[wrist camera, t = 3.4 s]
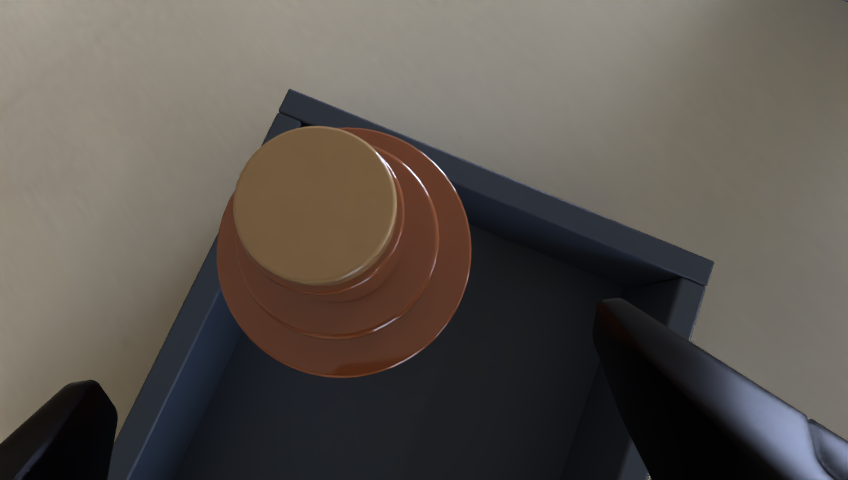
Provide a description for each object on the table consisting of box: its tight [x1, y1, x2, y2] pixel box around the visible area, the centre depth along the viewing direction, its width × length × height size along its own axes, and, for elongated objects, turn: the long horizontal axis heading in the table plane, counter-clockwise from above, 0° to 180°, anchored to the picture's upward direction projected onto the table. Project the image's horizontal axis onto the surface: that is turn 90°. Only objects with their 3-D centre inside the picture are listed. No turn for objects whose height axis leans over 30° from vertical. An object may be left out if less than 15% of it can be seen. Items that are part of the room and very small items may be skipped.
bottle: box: [217, 126, 472, 378], centre depth 12 cm, size 5×5×12 cm
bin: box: [107, 89, 714, 480], centre depth 16 cm, size 16×14×4 cm
